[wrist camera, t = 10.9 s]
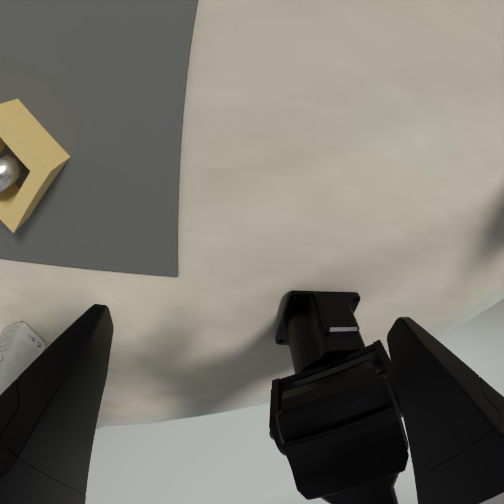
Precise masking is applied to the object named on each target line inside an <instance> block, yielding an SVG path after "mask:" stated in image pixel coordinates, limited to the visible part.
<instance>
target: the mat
mask: <svg viewBox="0 0 504 504" xmlns="http://www.w3.org/2000/svg"><path fill="white" fill-rule="evenodd" d="M197 4H198V0H0V104H2V103H5V102H8V101H11V100H14V99H19V100H20V102H21V103H22V104H23V105H24V106H25V107H26V109H27V110H28V111H29V112H30V113H31V114H32V115H33V117H34V118H35V119H36V120H37V121H38V122H39V123H40V124H41V126H42V127H43V128H44V129H45V130H46V131H47V132H48V133H49V134H50V135H51V137H52V138H53V139H54V140H55V141H56V142H57V143H58V144H59V145H60V146H61V147H62V148H63V150H64V151H65V152H66V153H67V154H68V155H69V156H70V158H69V160H68V161H67V162H66V164H65V165H64V166H63V168H62V169H61V170H60V172H59V173H58V175H57V176H56V177H55V179H54V180H53V182H52V183H51V185H50V186H49V187H48V189H47V190H46V192H45V193H44V195H43V197H42V198H41V200H40V201H39V203H38V204H37V206H36V208H35V209H34V211H33V212H32V214H31V216H30V217H29V218H28V219H27V220H26V221H25V222H24V223H23V224H22V225H21V226H20V227H19V228H18V229H17V230H16V231H15V232H14V233H13V232H12V231H11V230H10V229H9V228H8V227H7V226H6V225H5V224H4V223H3V222H2V221H1V220H0V258H1V259H8V260H16V261H24V262H32V263H40V264H49V265H58V266H67V267H76V268H86V269H95V270H106V271H116V272H127V273H138V274H150V275H162V276H174V277H178V205H179V176H180V156H181V140H182V126H183V113H184V102H185V92H186V82H187V73H188V65H189V57H190V49H191V42H192V35H193V28H194V22H195V16H196V10H197ZM11 152H13V151H12V150H11V149H10V148H9V147H8V145H7V144H6V145H5V147H4V149H3V150H2V152H1V154H0V159H1V158H2V157H4V156H6V155H7V154H9V153H11ZM29 173H30V170H29V172H27V173H26V174H25V175H23V176H22V177H20V178H19V179H18V180H16V181H15V183H16V184H17V186H18V187H19V188H21V187H22V185H23V183H24V181H25V180H26V178H27V176H28V175H29Z"/></svg>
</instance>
